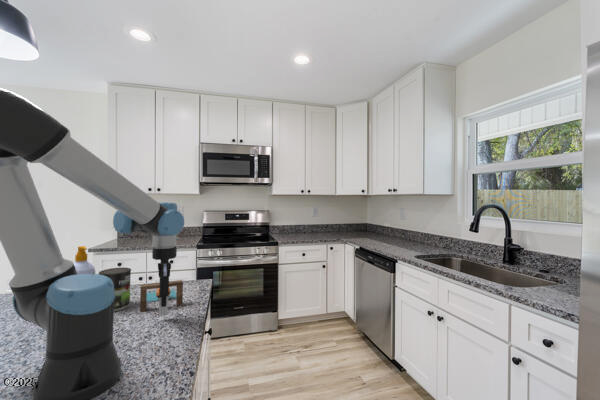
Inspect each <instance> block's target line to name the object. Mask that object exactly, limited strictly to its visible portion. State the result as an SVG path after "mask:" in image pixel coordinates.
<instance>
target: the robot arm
mask: <svg viewBox="0 0 600 400" xmlns="http://www.w3.org/2000/svg"><path fill="white" fill-rule="evenodd" d="M28 163H30V164H42V166H45V167H46V168H48V169H50V170H51V171H53V172H55V173H56V174H58V175H59V176H61V177H63V178H64V179H66V180H68V181H69V182H71V183H73V184H74V185H75V186H78V187H79V188H81V189H82V190H84V191H85V192H87V193H89V194H90V195H92V196H94V197H95V198H97V199H98V200H101V201H102V202H104V203H105V204H107V205H108V206H110V207H111V208H113V209H115V210H116V211H115V212H114V215H113V219H112V225H113V228H114V230H115V232H116V233H118V234H128V235H129V234H133V233H136V234H137V233H138V234H145V235H146V234H148V235H152V242H151V243H152V245H151V246H152V247H153V248H152V252H151V254H152V255H151V256H152V257H151V258H152V259H153V260H156V261H158V260H160V262H157V270H158V278H159V283H160V289H159V291H160V293H159V294H160V295H157V298H159V301H158V317H162V316H168V315H169V299H168V295H169V294H170V292H168V291H169V288H170V287H169V281H170V276H171V268H172V263H171V262H170V261H169V260H172V259H175V258H177V255H178V254H177V252H178V250H177V249H178V248H177V247H176V246H177V241H178V240H179V239H180V238H179V236H177V235H178V234H180V233H181V232H182V230H183V229H184V227H185V226H184V225H185V217H184V215H183V213H182V212H180V211H179V210H178V205H177V203H176V202H158V201H157V200H156V199H154V198H152V196H150V195H149V194H148V193H147V192H145V191H144V190H143V189H141V188H139V187H138V186H137V185H135V184H134V183H133V182H131V181H130V180H129V179H127V178H126V177H125V176H124V175H122V174H121V173H119V172H118V171H117V170H115V169H114V168H112V167H111V166H110V165H109V164H107V163H106V162H105V161H103V160H101V158H99V157H98V156H97V155H95V154H94V153H92V152H91V151H89V149H87V148H86V147H84V146H83V145H82V144H80V143H79V142H78V141H76V140H75V139H74V138H72V137H71V131H70V129H69V128H67V127H66V126H65V125H64V124H63V123H61V122H59V121H58V120H57V119H55V117H53V116H52V115H50V114H49V113H48V112H46V111H45V110H43V109H42V108H40V107H39V106H37V105H36V104H34V103H32V102H31V101H29V100H28V99H27V98H25V97H23V96H21V95H19V94H17V93H15V92H13V91H10V90H8V89H4V88H1V87H0V243H1V246H2V248H3V250H4V252H5V255H6V257H7V259H8V261H9V264H10V265H11V268H12V270H13V272H14V275H13V276H12V278H11V280H10V281H9V283H8V285H9V286H8V287H10V289H11V293H12V294H13V295H12V296H13V297H12V308H13V309H14V311H15V313H16V314H17V315H18V316H19V317H20V319H22V320H24V321H25V322H28V323H31V324H34V325H35V326H37V327H39V328H41V329H42V330H46V331H45V333H46V337H45V338H46V342H45V346H46V347H45V348H46V349H45V350H46V352H45V360H44V363H43V364H42V367H41V370H40V372H39V375H38V378H37V380H36V382H35V384H34V386H33V390H32V391H33V394H32V400H91V399H93V398H95V397H96V396H99V395H100V394H103V392H105V391H107V390H108V389H110V388H111V387H112V386H113V385H114V384H115V383H116V382H117V381H118V379H120V376H121V372H122V360H121V358H120V357H119V354H118V352H117V349H116V346H115V343H114V317H115V316H114V315H115V314H114V313H115V311H114V298H115V291H114V284H113V281H112V280H111V279H110V278H109V277H107V276H104V275H99V273H95V274H94V275H92V274H77V271H76V268H75V266H74V263H75V262H74V261H73V260H69V259H66V258H64V257H63V254H62V252H61V250H60V246H59V244H58V241H57V238H56V236H55V233H54V231H53V229H52V226H51V224H50V222H49V219H48V216H47V214H46V211H45V209H44V205H43V202H42V201H41V198H40V195H39V193H38V190H37V188H36V184H35V182H34V180H33V177H32V174H31V172H30V170H29V169H30V168H29V167H28Z"/></svg>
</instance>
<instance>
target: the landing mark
mask: <svg viewBox="0 0 600 400" xmlns="http://www.w3.org/2000/svg"><path fill="white" fill-rule="evenodd" d="M170 290H171V293H170V295H169V297H168V300H171V299H176V293H177V291H176V290H175V288H174V289H170ZM157 301H158V302H159V298H157V296H156V291H153V292H151V291H150V292H147V301H146V303H151V302H157Z"/></svg>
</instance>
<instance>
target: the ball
mask: <svg viewBox="0 0 600 400" xmlns="http://www.w3.org/2000/svg"><path fill="white" fill-rule="evenodd" d="M159 289H160V288H156V290H155V292H156V296H157V295H160V294H159V293H160V291H159ZM171 290H172V289H171V288H170V287H169V291H168V292H170V293H171ZM169 295H170V294H169ZM169 295H168V297H169Z"/></svg>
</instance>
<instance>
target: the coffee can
mask: <svg viewBox="0 0 600 400" xmlns="http://www.w3.org/2000/svg"><path fill="white" fill-rule="evenodd" d="M131 271H132V268H129V267H113V268H106V269H103V270H100V271H99V272H98V274H99V275H104V276H107V277H109V278H110V279H111V280H112V281H113V284H114V291H115V298H114V312H117V311H122V310H124V309H126V308H129V306H130V305H131Z"/></svg>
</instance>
